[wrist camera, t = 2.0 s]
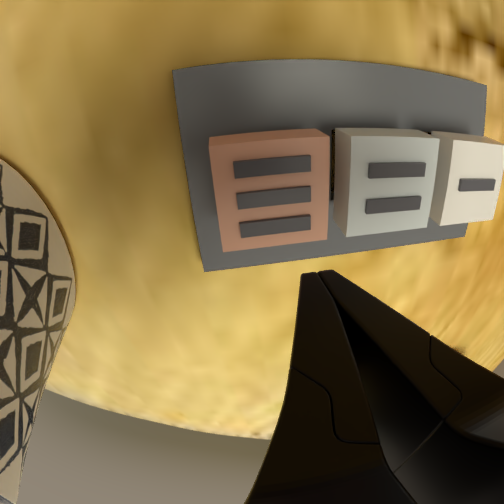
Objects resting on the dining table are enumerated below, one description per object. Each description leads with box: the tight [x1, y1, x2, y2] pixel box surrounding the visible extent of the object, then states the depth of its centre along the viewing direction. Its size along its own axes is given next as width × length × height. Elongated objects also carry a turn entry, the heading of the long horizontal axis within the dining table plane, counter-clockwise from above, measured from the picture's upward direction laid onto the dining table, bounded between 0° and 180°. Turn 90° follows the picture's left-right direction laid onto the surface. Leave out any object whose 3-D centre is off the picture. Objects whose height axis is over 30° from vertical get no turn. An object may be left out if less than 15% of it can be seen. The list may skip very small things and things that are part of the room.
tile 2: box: [333, 128, 440, 237], centre depth 15 cm, size 5×5×4 cm
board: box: [172, 59, 487, 272], centre depth 17 cm, size 20×12×1 cm, turn 94°
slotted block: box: [209, 128, 330, 252], centre depth 15 cm, size 5×5×4 cm
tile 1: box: [429, 131, 504, 226], centre depth 15 cm, size 5×5×4 cm
